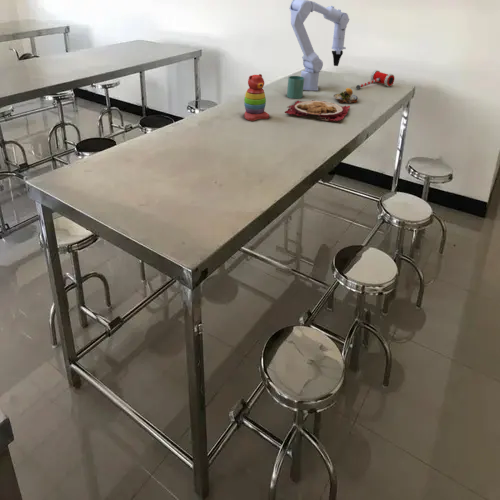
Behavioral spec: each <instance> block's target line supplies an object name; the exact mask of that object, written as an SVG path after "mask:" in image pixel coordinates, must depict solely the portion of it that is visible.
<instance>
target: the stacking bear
mask: <svg viewBox="0 0 500 500" xmlns="http://www.w3.org/2000/svg"><path fill="white" fill-rule="evenodd" d="M247 85H248V88H247V90H246V91H245V95H244V109H245V111H244V115H243V117H244V119H245V120H247V121H250V122H254V121H256V120H267V119H268V120H269V118H270V114H269V113H268V112H267V111H265V109H266V102H267V100H266V99H267V98H266V93H265V90H264V86H265V79H264V77H263V75H262V74H261V73H259V74H252V75H249V77H248V80H247Z"/></svg>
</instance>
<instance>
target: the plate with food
mask: <svg viewBox="0 0 500 500" xmlns="http://www.w3.org/2000/svg"><path fill="white" fill-rule="evenodd" d="M286 108H287V110H285V111H284V114H288V115H294V116H297V117H301V116H302V117H309V115H314V116H315V115H316V116H318V120H319V121H321V120H322V121H325V122H332V123H333V122H338V121H343V120H344V118H345V116H347V114H348V112H349V111H350V108H351V106H350V105H343V106H341V105H338V104H336V103H334V102H328V101H325V100H313V99H312V100H304V101H300V100H297V101H296V102H295V103H294V104H291V105H288V106H287V107H286Z"/></svg>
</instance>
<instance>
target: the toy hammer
mask: <svg viewBox="0 0 500 500" xmlns="http://www.w3.org/2000/svg"><path fill="white" fill-rule="evenodd" d="M394 82H395V75H394V74H392V73H385V72H382V71H380V70H378V69H374V70H373V71H372V72H371V75H370V81H367V82H365V83H361V84H357V85H356V86H355V89H356V90H359V89H361V88H363V87H366V86H369V85H371V84H374V83H378V84H382V85H384V86H385V87H388V88H389V87H392V86H393V84H394Z"/></svg>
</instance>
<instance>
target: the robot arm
mask: <svg viewBox="0 0 500 500" xmlns="http://www.w3.org/2000/svg"><path fill="white" fill-rule="evenodd" d="M289 11H290V25H291V28H292V30H293V32H294V35H295V37H296V40H297V42H298V44H299V47H300V49H301V52H302V54H303V56H302V57H301V58H302V63H303V64H302V65H303V67H304V70H301V72H300V76H301V77H304V87H303V91H315V92H318V91H319V79H320V77H319V76H320V73H321V70H322V69H323V66H324V62H323V60H322V59H321V58H320V57H319V55H318V54H317V53H316V52H315V49H314V47H313V44H312V42H311V39H310V37H309V35H308V32H307V29H306V27H305V24H304V22H305V21H306V20H307V18H308V17H309V15H310V14H311V13H313V12H315V13H318V14H321V15H322V16H323V19H325V20H327V21H330V22H331V23H333V24H334V26H333V37H332V46H331V49H332V50H331V54H332V59H333V60H332V61H333V66H334V67H339V64H340V60H341V58H342V55H343V53H344V51H343V50H346V46H344V45H345V36H346V29H347V27H348V26H347V25H348V24H349V22H350V18H349V14H348V13H347V12H343V11H342V10H341V9H337V8H335V6H333V5H330V6H324V5H321V4H319V3H318V2H316V1H313V0H291V3H290V5H289Z"/></svg>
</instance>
